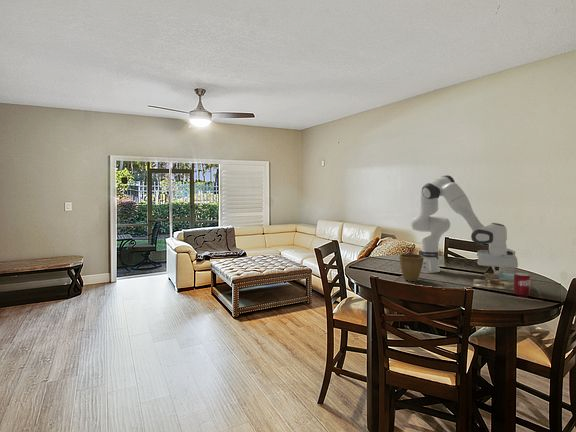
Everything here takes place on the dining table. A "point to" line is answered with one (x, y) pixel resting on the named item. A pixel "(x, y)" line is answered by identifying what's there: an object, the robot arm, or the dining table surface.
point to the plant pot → (411, 266)
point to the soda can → (522, 284)
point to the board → (501, 285)
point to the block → (494, 280)
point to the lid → (506, 276)
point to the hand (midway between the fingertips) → (496, 274)
